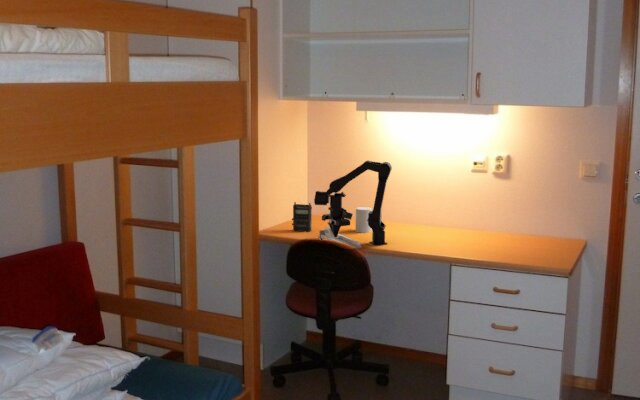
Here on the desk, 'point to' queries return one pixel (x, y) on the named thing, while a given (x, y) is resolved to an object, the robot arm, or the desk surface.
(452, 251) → the desk surface
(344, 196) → the robot arm
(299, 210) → the geiger counter
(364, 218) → the cup
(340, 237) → the rail board
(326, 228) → the block
